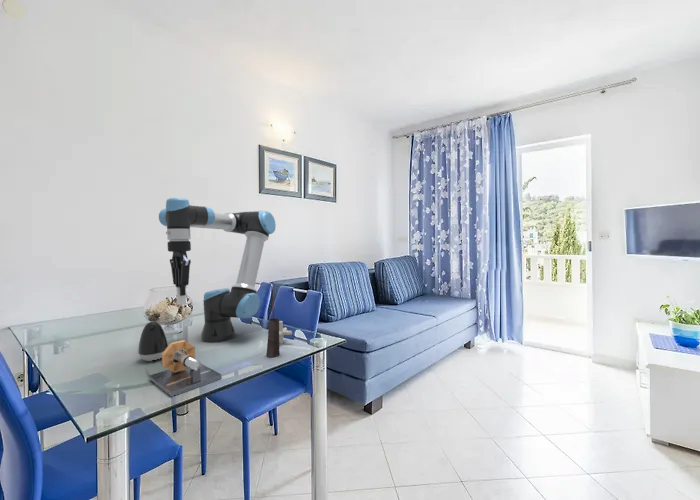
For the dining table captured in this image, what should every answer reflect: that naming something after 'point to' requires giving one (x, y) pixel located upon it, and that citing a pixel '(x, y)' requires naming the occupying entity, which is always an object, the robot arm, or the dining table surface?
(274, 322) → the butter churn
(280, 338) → the pipe connector
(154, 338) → the black dome
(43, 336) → the dining table surface
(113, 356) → the dining table surface
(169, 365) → the ring
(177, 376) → the pipe stand
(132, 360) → the dining table surface
